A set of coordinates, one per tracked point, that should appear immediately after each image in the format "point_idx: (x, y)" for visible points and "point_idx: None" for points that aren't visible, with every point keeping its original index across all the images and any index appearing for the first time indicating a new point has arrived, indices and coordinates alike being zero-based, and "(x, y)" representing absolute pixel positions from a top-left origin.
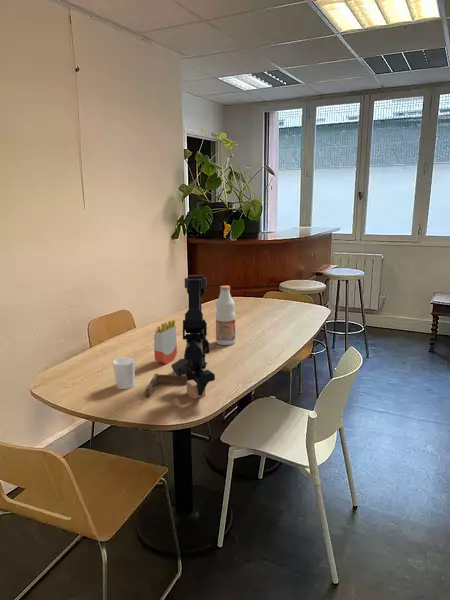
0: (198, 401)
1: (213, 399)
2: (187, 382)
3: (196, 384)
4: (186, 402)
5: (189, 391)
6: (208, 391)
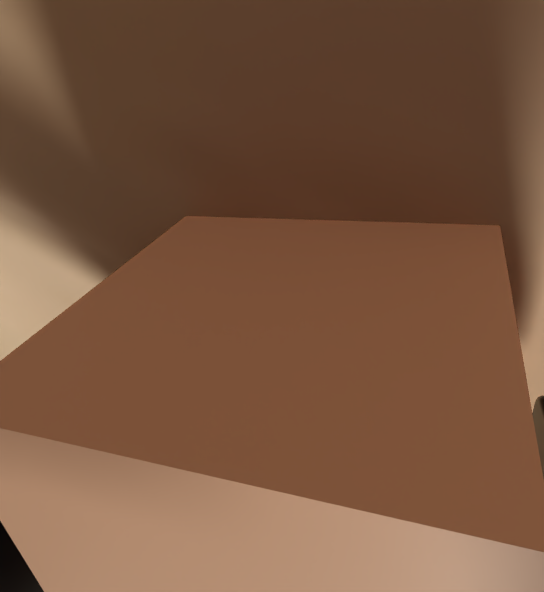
0: (69, 247)
1: None
2: (402, 488)
3: (38, 540)
4: (67, 15)
5: (310, 272)
6: None
